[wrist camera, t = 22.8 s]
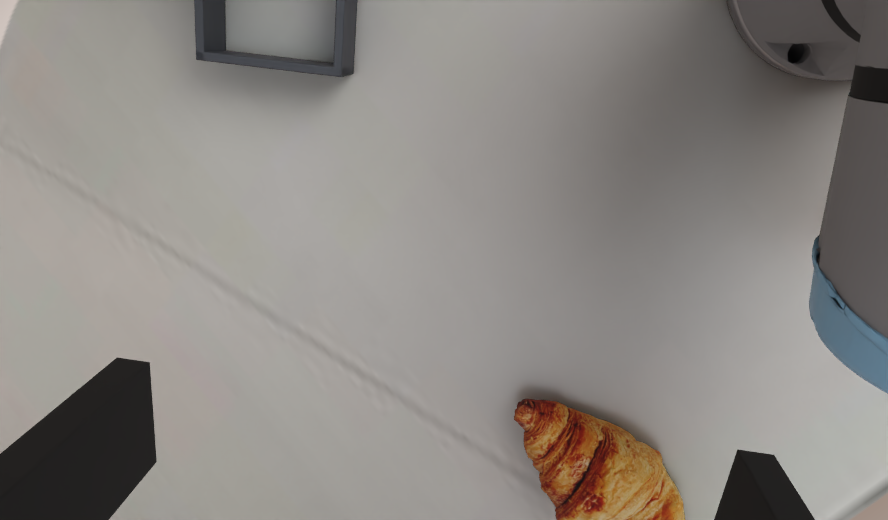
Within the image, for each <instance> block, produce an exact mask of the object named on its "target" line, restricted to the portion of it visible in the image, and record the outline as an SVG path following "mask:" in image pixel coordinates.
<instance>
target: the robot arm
mask: <svg viewBox="0 0 888 520" xmlns="http://www.w3.org/2000/svg"><path fill="white" fill-rule="evenodd" d="M727 4H728V8H729V11H730V14H731V17H732V20H733V22H734V24H735V26H736V28H737V30H738V32H739V33H740V35H741V37H742V38H743V39H744V41H745V42H746V43H747V45H748V46H749V47H750V48H751V49H752V50H753V51H754V52H755V53H756V54H757V55H758V56H759V57H761V58H762V59H763V60H764V61H766V62H768V63H769V64H771V65H772V66H774V67H776V68H778V69H780V70H782V71H784V72H787V73H790V74H793V75H797V76H801V77H806V78H813V79H820V80H830V81H844V80H852V84H851V89H850V93H849V95H848V99H847V103H846V108H845V113H844V118H843V123H842V128H841V133H840V138H839V143H838V147H837V152H836V157H835V162H834V167H833V172H832V177H831V182H830V186H829V191H828V196H827V201H826V206H825V211H824V216H823V221H822V225H821V230H820V235H819V236H818V237H817V238H816V239H815V241H814V245H813V249H812V260H813V266H814V273H813V279H812V286H811V293H810V300H809V309H810V316H811V319H812V320H813V322H814V324H815V328H816V331H817V332H818V335H819V337H820V339H821V340H822V342H823V343H824V344H825V345H826V347H827V348H828V349H829V350H830V351H831V352H832V353H833V354H834V355H835V356H836V357H837V358H838V359H839V360H840V361H841V362H842V363H843V364H844V365H846V366H847V367H848V368H849V369H850V370H852V371H853V372H854V373H856V374H857V375H859V376H860V377H861V378H863V379H864V380H866V381H868V382H869V383H871V384H872V385H874V386H876V387H877V388H879V389H881V390H882V391H884V392H886V393H888V0H727ZM155 463H156V448H155V434H154V419H153V405H152V391H151V376H150V362H143V361H136V360H129V359H123V358H116V359H115V360H114V361H112V362H111V363H110V364H109V365H108V366H106V367H105V368H104V369H103V370H101V371H100V372H99V373H98V374H97V375H95V376H94V377H93V378H92V379H91V380H89V381H88V382H87V383H86V384H84V385H83V386H82V387H81V388H80V389H78V390H77V391H76V392H75V393H74V394H72V395H71V396H70V397H69V398H67V399H66V400H65V401H64V402H63V403H61V404H60V405H59V406H58V407H57V408H55V409H54V410H53V411H52V412H50V413H49V414H48V415H47V416H46V417H44V418H43V419H42V420H41V421H40V422H38V423H37V424H36V425H35V426H33V427H32V428H31V429H30V430H29V431H27V432H26V433H25V434H24V435H23V436H21V437H20V438H19V439H18V440H16V441H15V442H14V443H13V444H12V445H10V446H9V447H8V448H7V449H6V450H4V451H3V452H2V453H1V454H0V520H109V519H110V517H111V516H112V515H113V514H114V513H115V511H116V510H117V509H118V508H119V507H120V505H121V504H122V503H123V502H124V500H125V499H126V498H127V497H128V496H129V494H130V493H131V492H132V491H133V490H134V488H135V487H136V486H137V485H138V483H139V482H140V481H141V480H142V479H143V477H144V476H145V475H146V474H147V473H148V471H149V470H150V469H151V468H152V467H153V465H154V464H155ZM714 520H815V519H814V518H813V516H812V514H811V513H810V511H809V510H808V508H807V507H806V505H805V503H804V502H803V500H802V499H801V497H800V495H799V494H798V492H797V491H796V489H795V488H794V486H793V484H792V483H791V481H790V480H789V478H788V477H787V475H786V473H785V472H784V470H783V469H782V467H781V465H780V464H779V462H778V461H777V459H776V458H775V456H774V455H770V454H764V453H757V452H750V451H743V450H737V453H736V456H735V459H734V462H733V465H732V468H731V471H730V474H729V477H728V480H727V483H726V486H725V489H724V492H723V495H722V498H721V501H720V504H719V507H718V510H717V513H716V516H715V519H714Z"/></svg>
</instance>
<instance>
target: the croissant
mask: <svg viewBox="0 0 888 520" xmlns="http://www.w3.org/2000/svg"><path fill="white" fill-rule="evenodd" d="M514 420H515V421H517V422H518V423H519V425H520V426H521V427H522V428H523V429H524V430H525V432H524V447H525V450H526V453H527V455H528V458H530V459H532V461H533V466H534V467H535V468H536V469H537V470H538V471H539V472H540V473H539V478H540V482H541V489H542V490H543V491H544V492H545V493H547V495H548V496H549V498H550V499H551V501H552V502H553V503H554V505H555V506H556V509H555V511H556V519H557V520H685V515H684V510H683V501H682V498H681V496H680V494H679V491H678V489H677V487H676V485H675V484H674V482H673V481H672V480H671V479H670V477H669V476H668V474H667V472H666V470H665V467H664V466H663V464H662V457H661V454H660V452H659V451H657V450H654V449H652V448H651V447H650V446H648V445H647V444H645V443H642V442H640V441H636V440H635V438H634V437H633V436H632V435H631V434H630V433H629V432H627V431H626V430H624V429H622V428H620V427H618V426H616V425H614V424H612V423H610V422H608V421H605V420H601V419H597V418H595V417H593V416H591V415H588V414H585V413H582V412H580V411H577V410H575V409H572V408H568V407H566V406H565V405H563V404H561V403H559V402H556V401H548V400H532V399H523V400H522V401H521V402H519V403H518V405H517V409H515V416H514Z"/></svg>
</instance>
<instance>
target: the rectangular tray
mask: <svg viewBox="0 0 888 520" xmlns="http://www.w3.org/2000/svg"><path fill="white" fill-rule="evenodd" d="M194 4H195V34H196V59H197V60H203V61H211V62H219V63H228V64H236V65H244V66H253V67H261V68H269V69H278V70H286V71H295V72H303V73H311V74H320V75H328V76H336V77H343V76H347V75H351V74H353V72H354V52H355V33H356V14H357V0H336V18H335V42H334V63H327V62H319V61H310V60H302V59H293V58H285V57H276V56H268V55H260V54H251V53H243V52H234V51H226V34H225V0H194Z"/></svg>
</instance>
